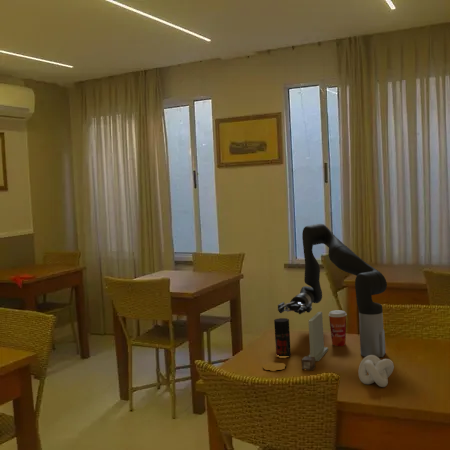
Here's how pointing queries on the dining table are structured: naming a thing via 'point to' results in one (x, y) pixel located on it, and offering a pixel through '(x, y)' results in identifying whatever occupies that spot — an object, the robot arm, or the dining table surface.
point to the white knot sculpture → (375, 370)
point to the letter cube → (308, 363)
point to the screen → (316, 337)
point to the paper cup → (338, 327)
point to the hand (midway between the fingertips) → (289, 311)
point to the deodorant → (282, 337)
